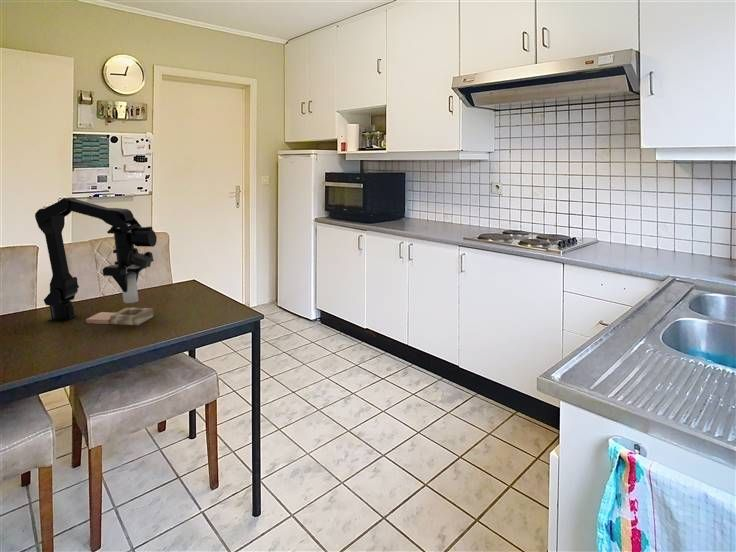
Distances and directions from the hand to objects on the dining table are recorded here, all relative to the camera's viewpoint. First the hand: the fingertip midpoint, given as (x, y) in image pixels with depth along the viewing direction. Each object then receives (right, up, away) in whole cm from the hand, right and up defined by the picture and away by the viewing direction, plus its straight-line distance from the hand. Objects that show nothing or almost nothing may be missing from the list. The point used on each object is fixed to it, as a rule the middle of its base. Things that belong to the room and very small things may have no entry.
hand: (129, 290), depth 170 cm
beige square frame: (0, -11, +3) cm, 11 cm away
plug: (0, -4, +1) cm, 4 cm away
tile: (-10, -11, +3) cm, 15 cm away
